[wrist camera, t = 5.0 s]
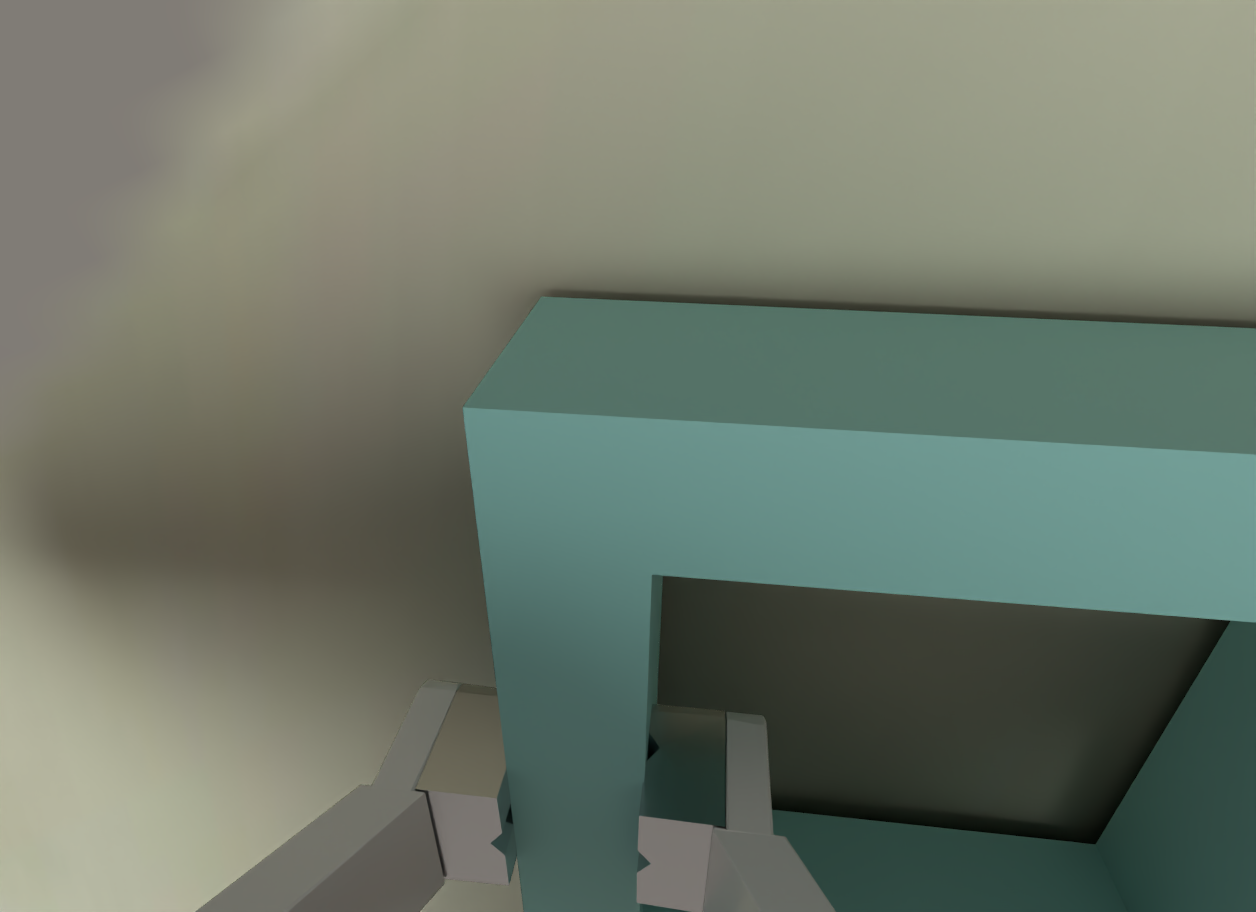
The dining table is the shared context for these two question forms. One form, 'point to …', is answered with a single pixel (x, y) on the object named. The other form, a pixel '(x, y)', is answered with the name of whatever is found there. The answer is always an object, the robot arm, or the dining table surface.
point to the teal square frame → (864, 561)
